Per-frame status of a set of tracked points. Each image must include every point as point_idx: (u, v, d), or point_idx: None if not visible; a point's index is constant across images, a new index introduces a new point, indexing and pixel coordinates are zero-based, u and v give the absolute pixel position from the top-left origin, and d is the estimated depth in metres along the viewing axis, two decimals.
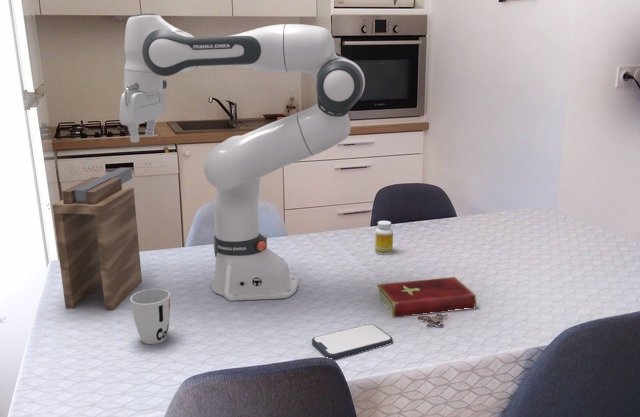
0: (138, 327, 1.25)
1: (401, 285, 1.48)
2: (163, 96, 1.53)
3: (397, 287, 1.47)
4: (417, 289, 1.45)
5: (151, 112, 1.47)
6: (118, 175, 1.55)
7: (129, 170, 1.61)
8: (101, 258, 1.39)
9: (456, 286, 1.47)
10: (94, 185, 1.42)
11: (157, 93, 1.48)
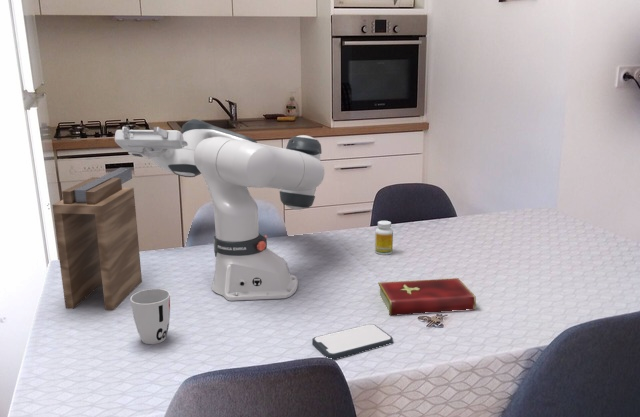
0: (138, 327, 1.25)
1: (402, 284, 1.49)
2: (126, 148, 1.82)
3: (397, 286, 1.47)
4: (417, 288, 1.45)
5: (144, 143, 1.78)
6: (118, 175, 1.55)
7: (129, 170, 1.61)
8: (101, 258, 1.39)
9: (457, 287, 1.47)
10: (94, 185, 1.42)
11: (142, 150, 1.82)
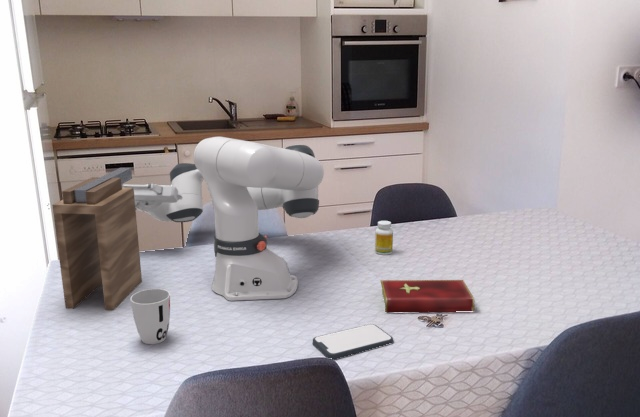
0: (138, 327, 1.25)
1: (403, 283, 1.49)
2: None
3: (398, 285, 1.48)
4: (417, 288, 1.46)
5: (138, 198, 1.75)
6: (118, 175, 1.55)
7: (129, 170, 1.61)
8: (101, 258, 1.39)
9: (458, 289, 1.46)
10: (94, 185, 1.42)
11: (137, 203, 1.80)
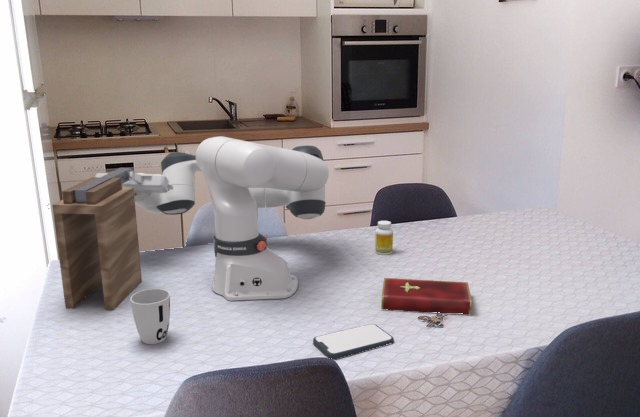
0: (138, 327, 1.25)
1: (406, 282, 1.50)
2: None
3: (400, 283, 1.49)
4: (417, 287, 1.46)
5: (126, 187, 1.66)
6: (118, 175, 1.55)
7: (129, 170, 1.61)
8: (101, 258, 1.39)
9: (459, 290, 1.45)
10: (94, 185, 1.42)
11: None
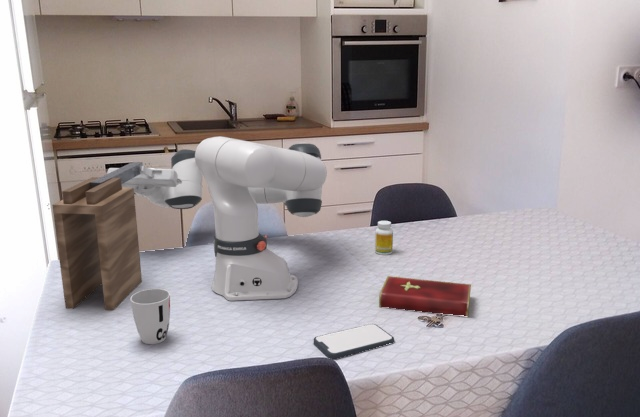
0: (138, 327, 1.25)
1: (408, 281, 1.51)
2: None
3: (402, 282, 1.50)
4: (417, 287, 1.46)
5: (137, 181, 1.73)
6: (130, 169, 1.62)
7: (140, 164, 1.69)
8: (101, 258, 1.39)
9: (460, 292, 1.44)
10: (108, 178, 1.50)
11: (136, 188, 1.78)
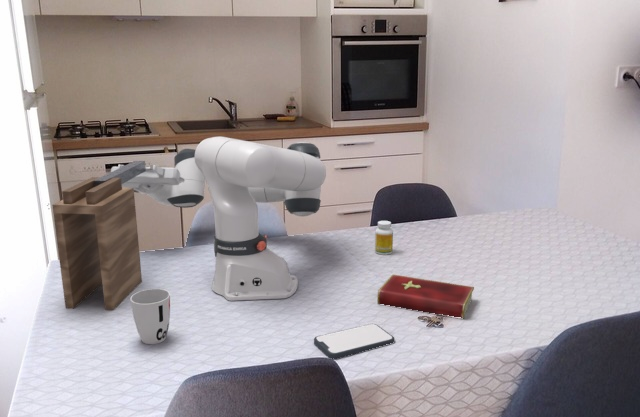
0: (138, 327, 1.25)
1: (411, 280, 1.51)
2: (122, 184, 1.79)
3: (404, 281, 1.51)
4: (417, 286, 1.47)
5: (140, 180, 1.76)
6: (133, 167, 1.64)
7: (143, 163, 1.71)
8: (101, 258, 1.39)
9: (459, 294, 1.43)
10: (112, 176, 1.52)
11: (139, 186, 1.80)
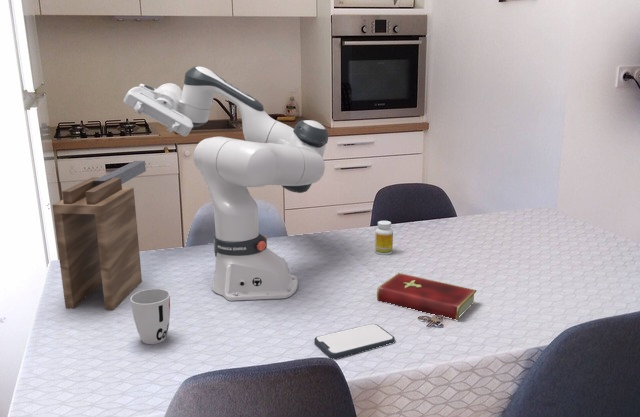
0: (138, 327, 1.25)
1: (415, 279, 1.52)
2: None
3: (407, 280, 1.51)
4: (418, 286, 1.47)
5: None
6: (133, 167, 1.64)
7: (143, 163, 1.71)
8: (101, 258, 1.39)
9: (458, 296, 1.42)
10: (112, 176, 1.52)
11: None
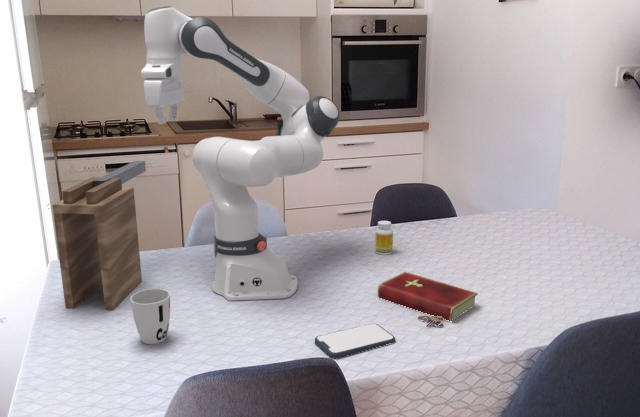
0: (138, 327, 1.25)
1: (418, 279, 1.52)
2: None
3: (411, 279, 1.52)
4: (419, 285, 1.47)
5: None
6: (133, 167, 1.64)
7: (143, 163, 1.71)
8: (101, 258, 1.39)
9: (456, 297, 1.41)
10: (112, 176, 1.52)
11: None
